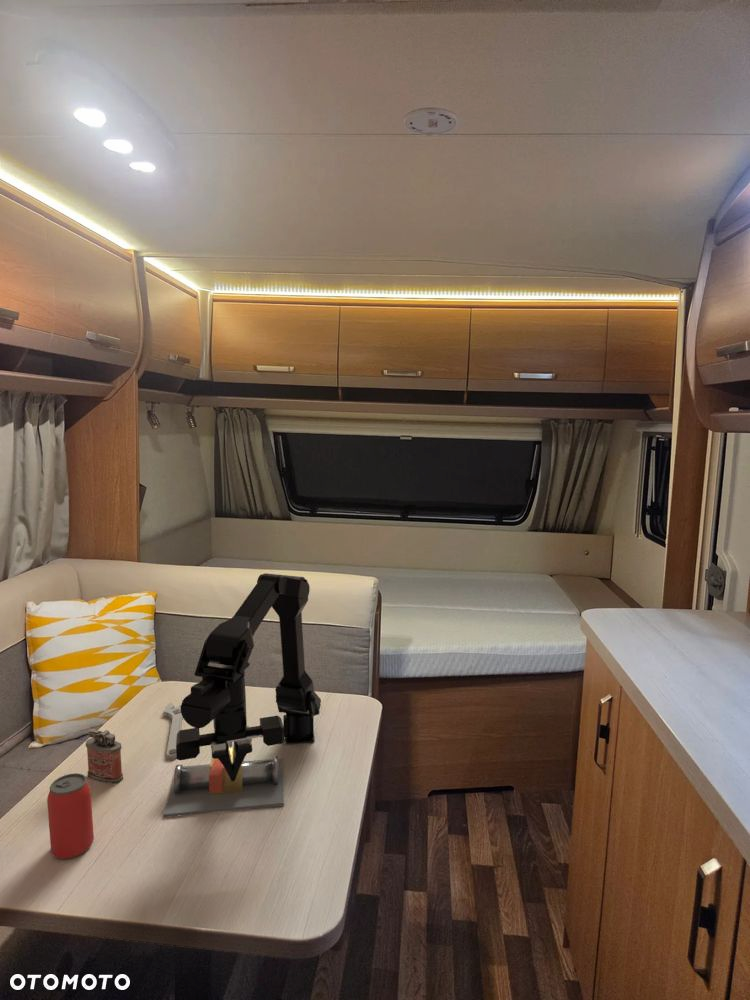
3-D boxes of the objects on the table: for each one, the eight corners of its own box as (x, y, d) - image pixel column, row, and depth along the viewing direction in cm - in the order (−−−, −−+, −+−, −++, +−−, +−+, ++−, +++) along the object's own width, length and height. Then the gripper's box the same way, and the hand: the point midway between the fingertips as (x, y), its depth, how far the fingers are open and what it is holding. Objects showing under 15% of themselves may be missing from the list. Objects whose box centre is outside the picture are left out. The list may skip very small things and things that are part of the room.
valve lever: (222, 751, 119) (222, 735, 118) (233, 750, 119) (233, 735, 119) (209, 793, 106) (208, 775, 105) (221, 792, 106) (221, 775, 105)
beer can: (61, 834, 105) (56, 771, 103) (99, 832, 105) (95, 770, 103) (43, 862, 98) (38, 796, 96) (84, 860, 99) (80, 794, 97)
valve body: (278, 773, 123) (277, 743, 122) (278, 791, 117) (278, 760, 116) (178, 782, 120) (177, 752, 119) (173, 801, 114) (172, 769, 113)
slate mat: (282, 760, 128) (282, 758, 127) (283, 805, 113) (283, 802, 113) (176, 769, 124) (176, 767, 124) (163, 817, 109) (163, 814, 109)
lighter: (127, 776, 121) (124, 731, 120) (115, 786, 118) (112, 739, 117) (96, 768, 124) (93, 724, 123) (83, 777, 121) (80, 732, 119)
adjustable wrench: (179, 761, 128) (179, 753, 128) (148, 764, 127) (147, 756, 127) (193, 704, 152) (193, 698, 152) (167, 706, 151) (166, 700, 151)
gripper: (275, 674, 116) (278, 748, 118) (175, 687, 111) (180, 764, 113) (284, 700, 106) (286, 780, 108) (173, 715, 100) (178, 800, 102)
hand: (232, 780), depth 108 cm, fingers closed
